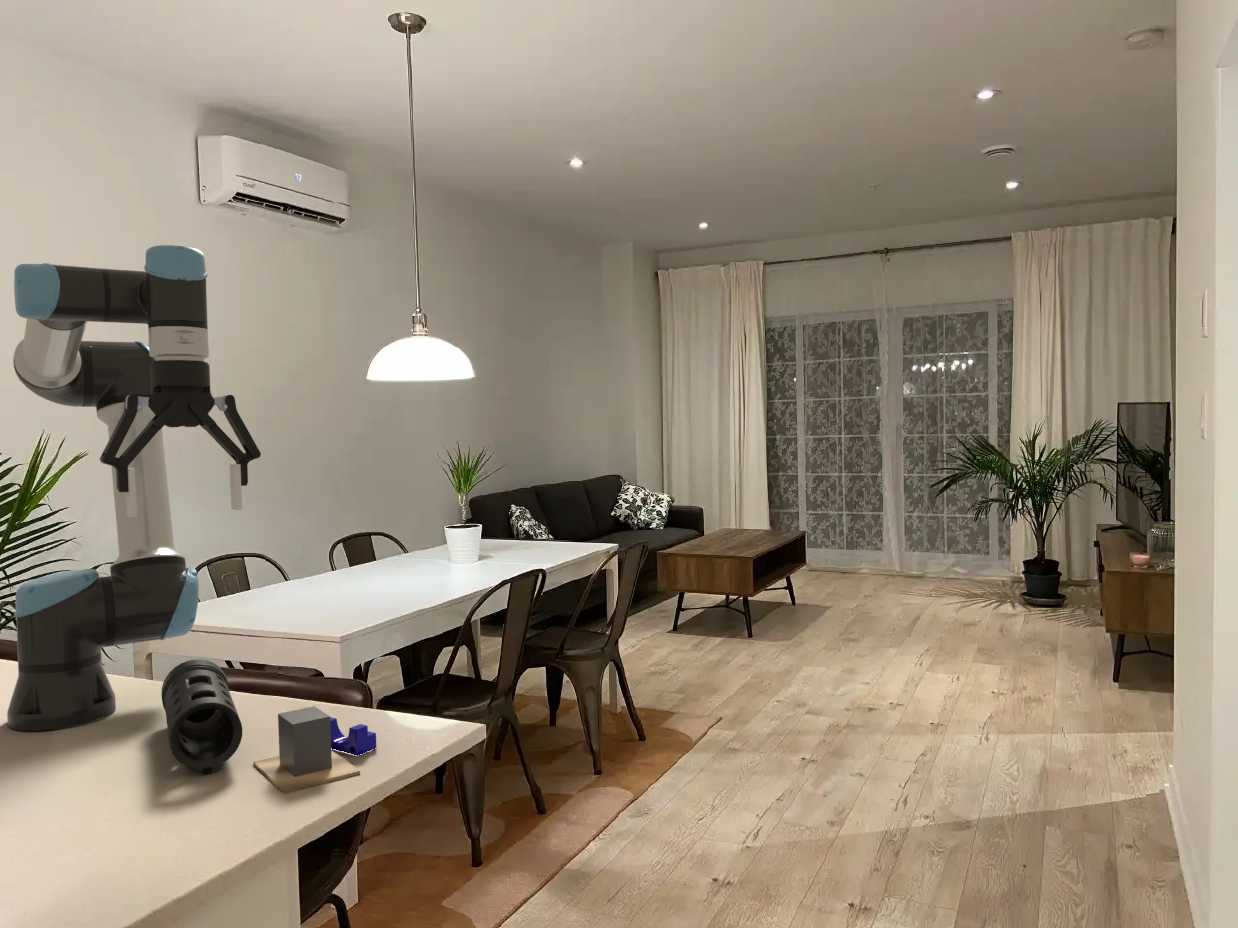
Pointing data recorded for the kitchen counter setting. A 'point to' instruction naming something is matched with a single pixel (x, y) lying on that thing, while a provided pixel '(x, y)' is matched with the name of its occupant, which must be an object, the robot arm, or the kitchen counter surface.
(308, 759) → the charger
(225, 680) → the muzzle brake
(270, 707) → the kitchen counter surface
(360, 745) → the cable holder
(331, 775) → the mat
